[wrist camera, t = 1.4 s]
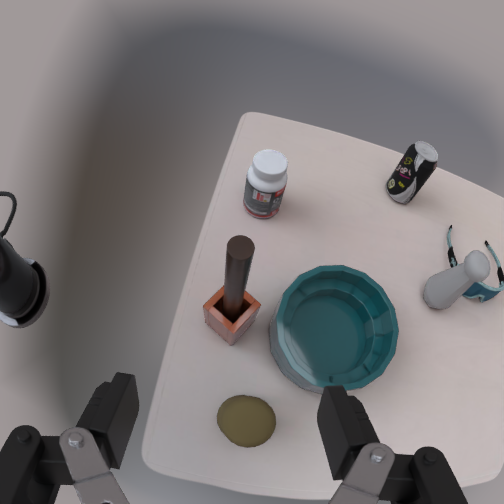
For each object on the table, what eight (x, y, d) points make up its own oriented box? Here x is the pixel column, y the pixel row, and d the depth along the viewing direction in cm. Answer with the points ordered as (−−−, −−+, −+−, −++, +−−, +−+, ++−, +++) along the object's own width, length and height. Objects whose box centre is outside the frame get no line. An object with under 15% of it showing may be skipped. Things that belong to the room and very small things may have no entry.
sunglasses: (444, 294, 46) (462, 279, 42) (437, 229, 55) (450, 212, 51) (497, 311, 46) (514, 298, 42) (486, 249, 54) (499, 235, 50)
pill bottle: (276, 223, 49) (289, 181, 40) (239, 215, 49) (245, 172, 40) (281, 194, 52) (293, 151, 43) (246, 187, 52) (253, 143, 43)
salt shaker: (416, 306, 45) (467, 272, 33) (420, 275, 48) (467, 236, 36) (444, 317, 44) (496, 287, 33) (447, 287, 47) (495, 252, 36)
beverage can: (379, 181, 56) (406, 136, 45) (402, 180, 57) (430, 138, 46) (391, 206, 53) (423, 163, 43) (415, 204, 54) (447, 163, 44)
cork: (244, 450, 34) (254, 466, 24) (206, 420, 35) (202, 425, 25) (276, 415, 36) (296, 417, 27) (238, 385, 38) (246, 378, 28)
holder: (204, 322, 41) (202, 305, 35) (228, 298, 43) (230, 277, 37) (231, 346, 40) (233, 333, 34) (254, 320, 42) (261, 304, 36)
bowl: (244, 342, 40) (248, 331, 35) (315, 262, 47) (327, 242, 41) (335, 416, 37) (353, 416, 31) (395, 328, 43) (416, 316, 38)
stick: (218, 320, 41) (220, 247, 23) (229, 310, 42) (239, 230, 24) (230, 331, 40) (241, 265, 23) (240, 320, 41) (260, 246, 23)
